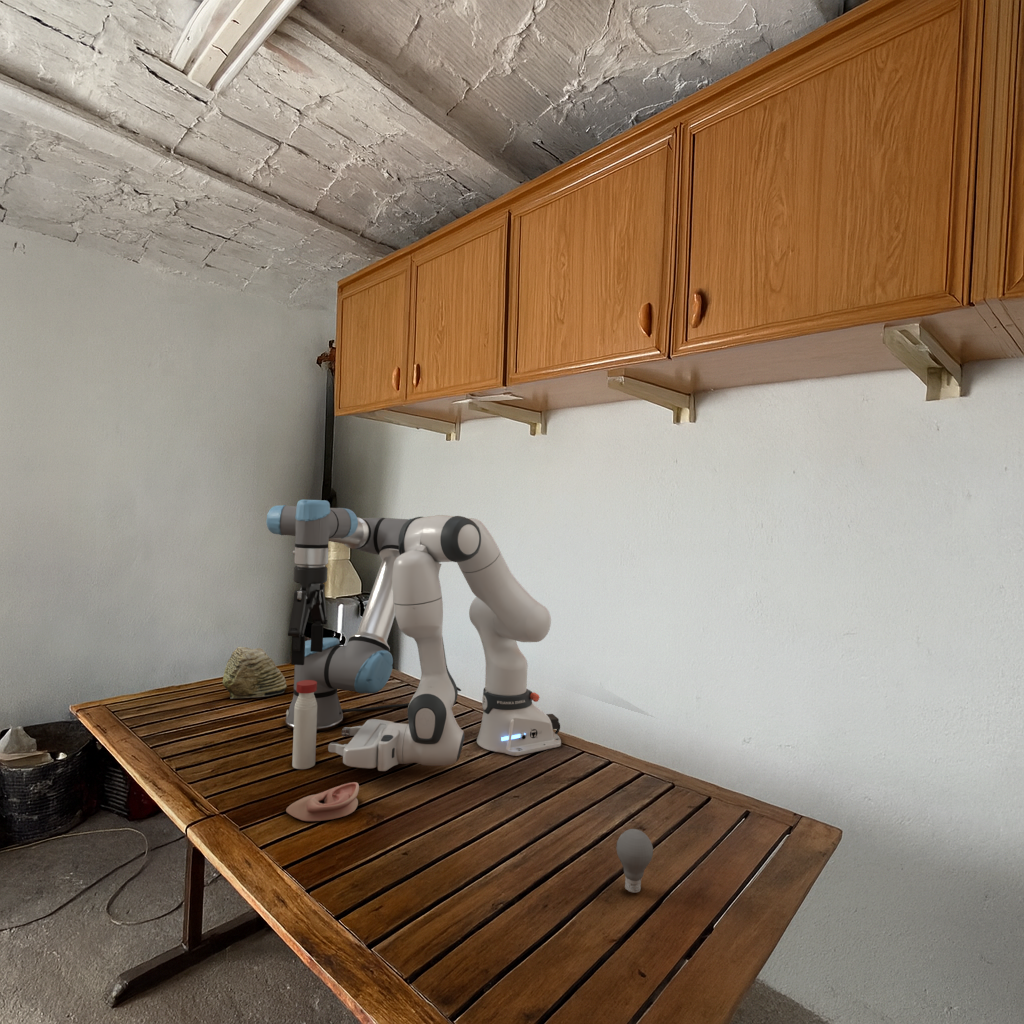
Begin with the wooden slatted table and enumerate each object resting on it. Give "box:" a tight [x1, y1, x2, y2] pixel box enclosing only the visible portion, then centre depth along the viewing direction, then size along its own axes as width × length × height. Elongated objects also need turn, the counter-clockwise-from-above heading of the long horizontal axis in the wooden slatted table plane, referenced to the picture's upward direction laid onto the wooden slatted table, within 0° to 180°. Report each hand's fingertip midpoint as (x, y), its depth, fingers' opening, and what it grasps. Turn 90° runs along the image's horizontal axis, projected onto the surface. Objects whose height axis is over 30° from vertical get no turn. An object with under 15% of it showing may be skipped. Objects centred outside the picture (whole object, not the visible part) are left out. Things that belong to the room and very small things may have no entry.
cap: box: [296, 680, 317, 693], centre depth 149 cm, size 5×5×2 cm
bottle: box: [291, 692, 317, 770], centre depth 149 cm, size 5×5×19 cm
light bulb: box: [615, 828, 654, 894], centre depth 106 cm, size 6×6×10 cm
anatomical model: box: [285, 781, 360, 822], centre depth 129 cm, size 13×4×12 cm
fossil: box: [222, 646, 288, 699], centre depth 198 cm, size 9×18×15 cm, turn 132°
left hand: (307, 657), depth 149 cm, fingers open, 12 cm apart
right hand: (336, 739), depth 148 cm, fingers open, 8 cm apart
